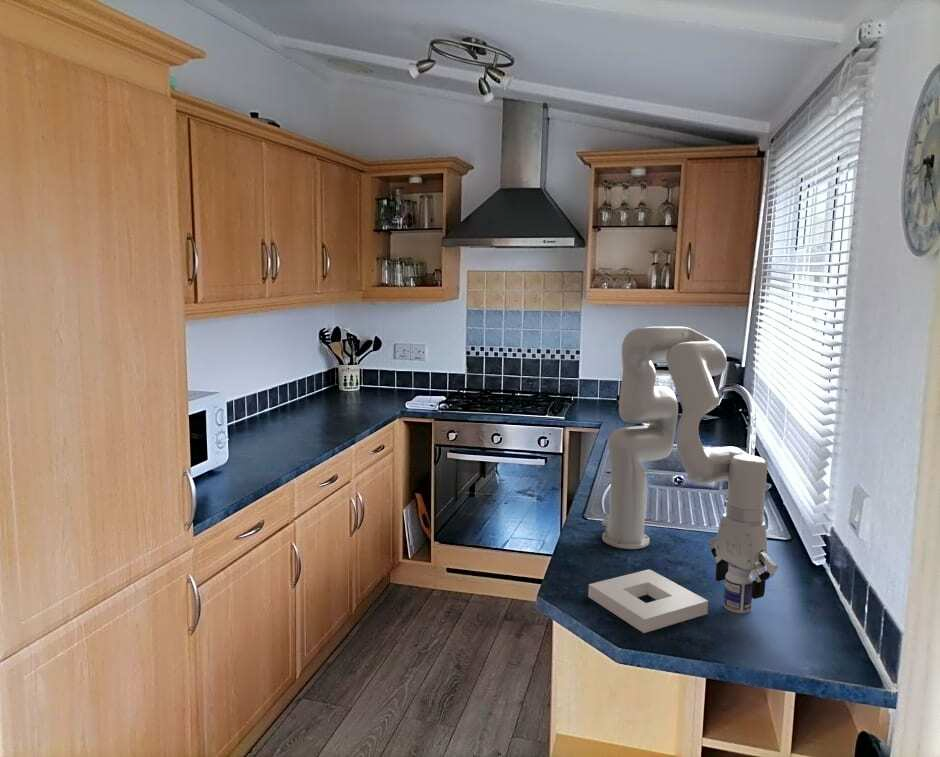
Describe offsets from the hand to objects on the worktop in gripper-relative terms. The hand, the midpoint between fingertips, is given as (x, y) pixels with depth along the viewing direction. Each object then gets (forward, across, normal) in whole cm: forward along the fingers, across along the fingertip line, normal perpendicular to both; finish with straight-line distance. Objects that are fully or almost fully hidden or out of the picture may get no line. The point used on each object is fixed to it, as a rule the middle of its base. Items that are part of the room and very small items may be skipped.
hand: (739, 588), depth 154 cm
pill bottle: (+5, 0, 0) cm, 5 cm away
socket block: (+5, -10, -17) cm, 20 cm away
